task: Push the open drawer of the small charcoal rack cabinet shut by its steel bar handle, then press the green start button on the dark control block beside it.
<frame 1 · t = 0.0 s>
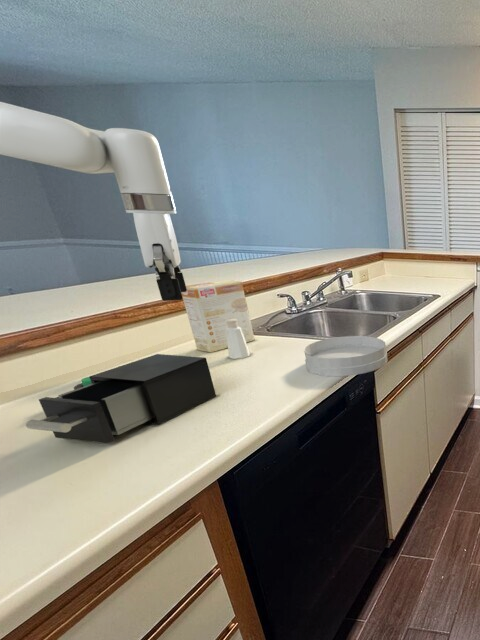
hand: (175, 295, 86), 24 cm above the countertop, tool pointing down, fingers open, 9 cm apart
dish: (348, 363, 122), on the countertop
control block: (100, 400, 95), on the countertop
start button: (93, 381, 94), point 4 cm above the countertop, slide at 0.1 cm
salt shaker: (240, 356, 126), on the countertop
drawer: (100, 410, 80), point 5 cm above the countertop, slide at 8.0 cm
cabinet: (164, 407, 93), on the countertop
coffeecake box: (227, 345, 135), on the countertop
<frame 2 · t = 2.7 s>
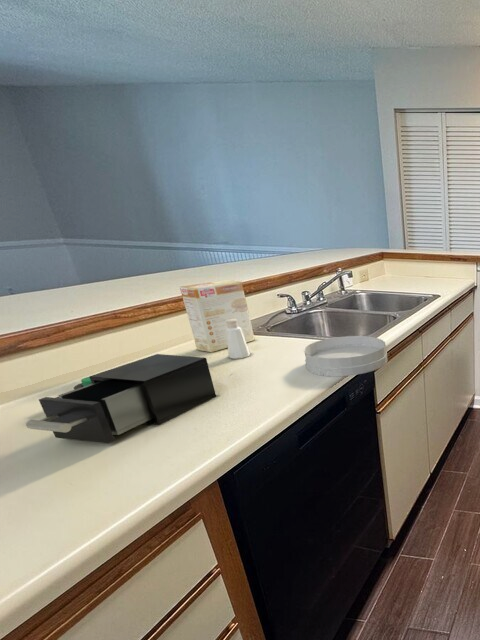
nothing on the countertop moved.
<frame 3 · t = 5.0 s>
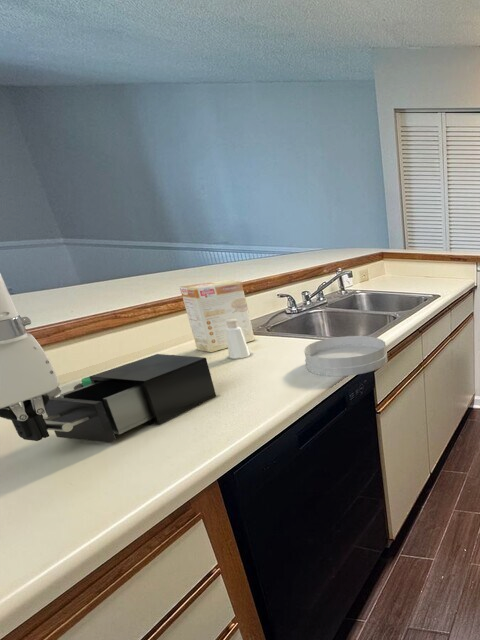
hand: (36, 437, 70), 5 cm above the countertop, tool pointing down, fingers closed
drawer: (101, 410, 80), point 5 cm above the countertop, slide at 7.7 cm, touching gripper
everything else where it was.
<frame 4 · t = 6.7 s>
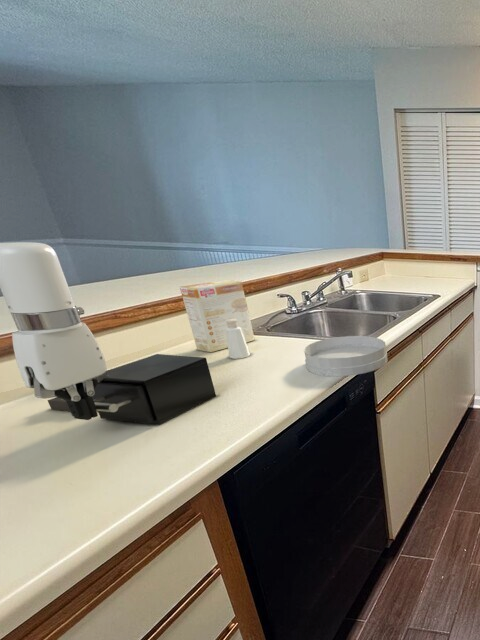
hand: (86, 417, 78), 5 cm above the countertop, tool pointing down, fingers closed
drawer: (140, 394, 87), point 5 cm above the countertop, slide at 0.0 cm, touching cabinet, gripper
everything else where it was.
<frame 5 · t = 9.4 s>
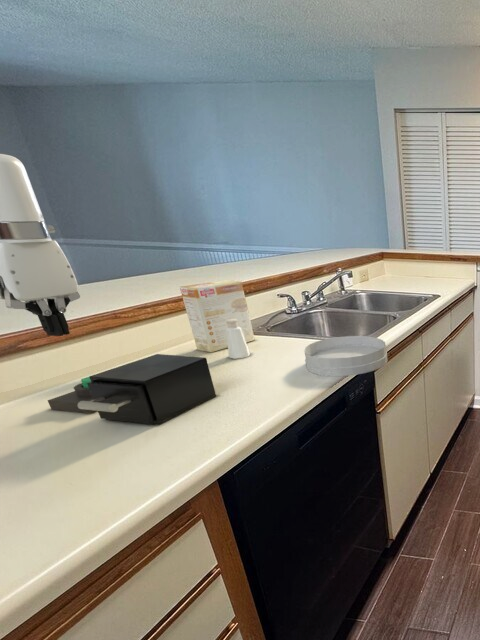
hand: (58, 334, 80), 18 cm above the countertop, tool pointing down, fingers closed
drawer: (140, 394, 87), point 5 cm above the countertop, slide at 0.0 cm
everything else where it was.
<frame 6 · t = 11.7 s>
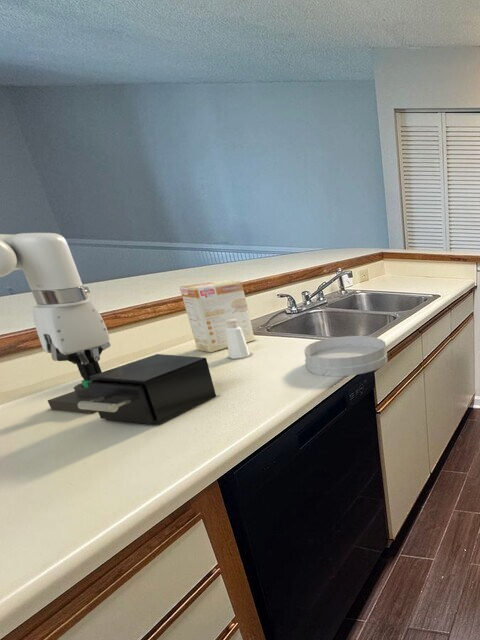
hand: (93, 379, 93), 5 cm above the countertop, tool pointing down, fingers closed
start button: (94, 383, 94), point 4 cm above the countertop, slide at -0.2 cm, touching gripper
everything else where it was.
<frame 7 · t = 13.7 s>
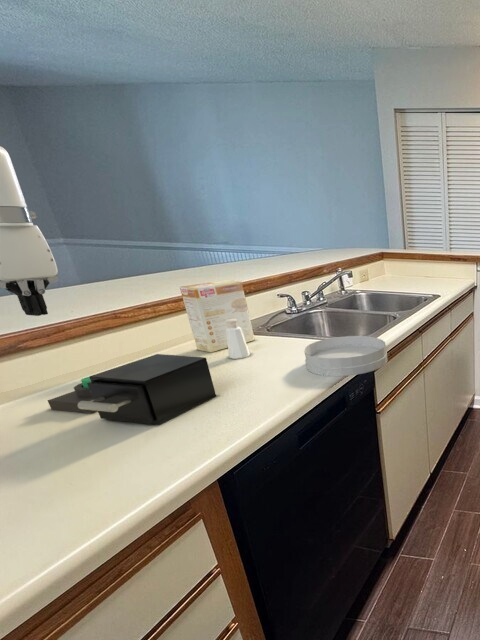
hand: (37, 314, 85), 20 cm above the countertop, tool pointing down, fingers closed
start button: (93, 381, 94), point 4 cm above the countertop, slide at 0.1 cm
everything else where it was.
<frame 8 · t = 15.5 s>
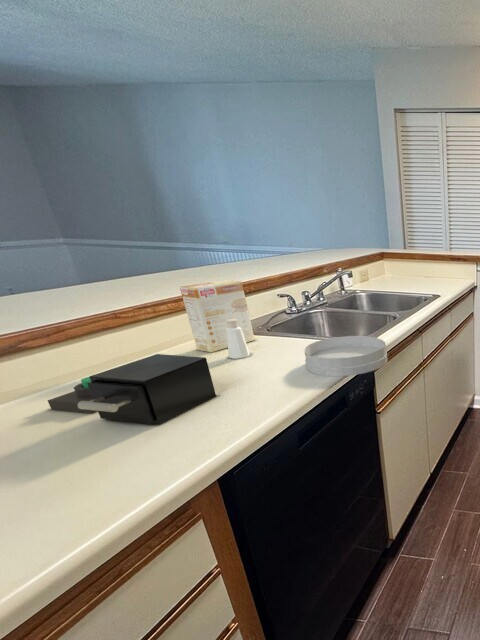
nothing on the countertop moved.
at the end: drawer slide at 0.0 cm; start button pushed in 1.1 cm at the most during the clip, back to where it started at the end; start button slide at 0.1 cm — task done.
